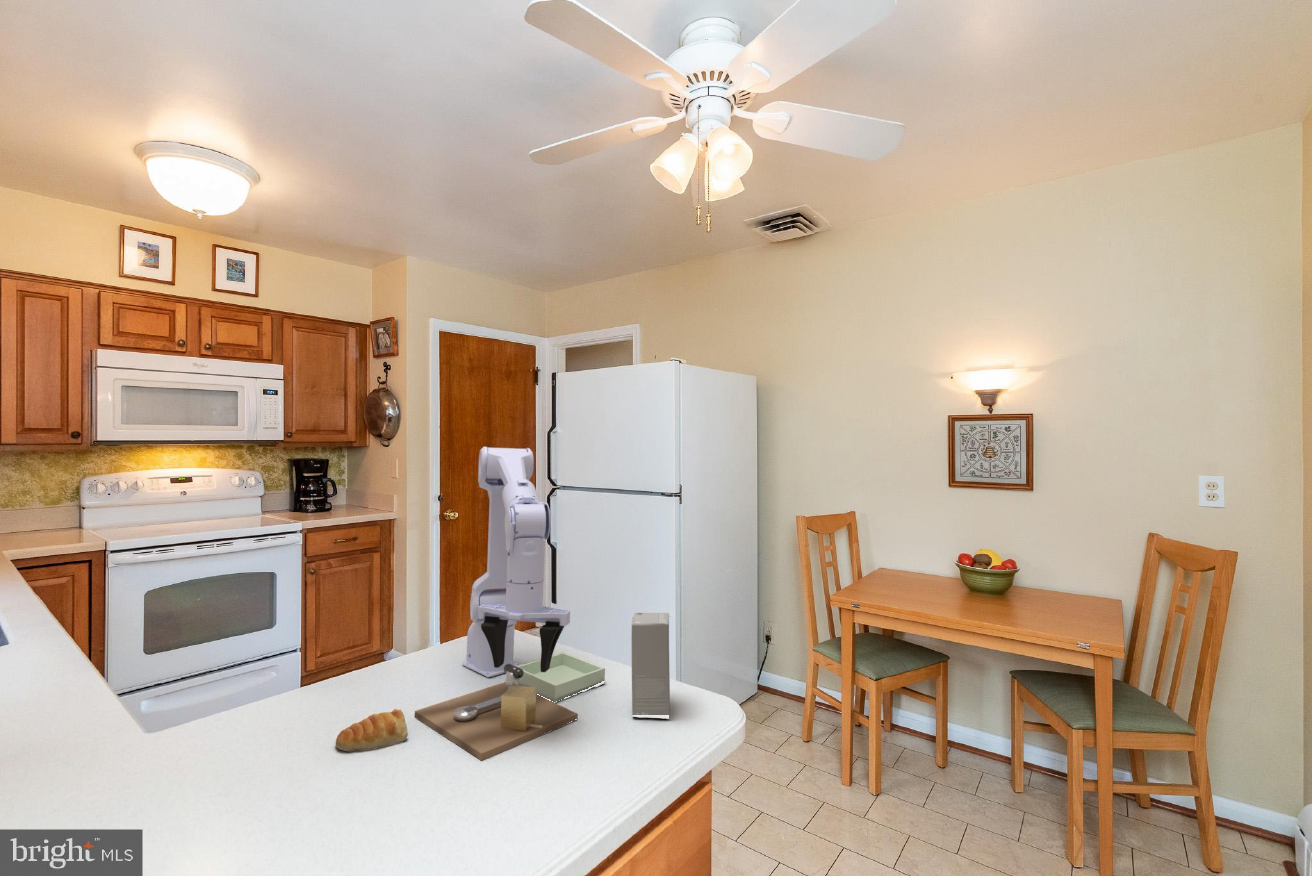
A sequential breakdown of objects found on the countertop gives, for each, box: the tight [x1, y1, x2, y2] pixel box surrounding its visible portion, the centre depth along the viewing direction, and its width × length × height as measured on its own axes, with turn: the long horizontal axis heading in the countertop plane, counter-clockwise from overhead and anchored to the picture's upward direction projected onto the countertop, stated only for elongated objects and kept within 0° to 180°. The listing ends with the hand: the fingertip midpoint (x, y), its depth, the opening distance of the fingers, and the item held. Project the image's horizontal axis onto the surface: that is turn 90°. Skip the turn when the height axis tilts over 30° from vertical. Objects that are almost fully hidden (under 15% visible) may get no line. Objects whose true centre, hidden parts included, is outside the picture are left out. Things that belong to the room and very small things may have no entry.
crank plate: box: [414, 681, 578, 761], centre depth 97 cm, size 19×18×1 cm
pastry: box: [335, 708, 409, 753], centre depth 89 cm, size 9×7×4 cm
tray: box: [517, 652, 606, 702], centre depth 112 cm, size 12×12×3 cm
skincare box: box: [631, 612, 671, 716], centre depth 103 cm, size 8×7×16 cm
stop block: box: [501, 686, 536, 731], centre depth 94 cm, size 4×4×5 cm
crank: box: [453, 664, 524, 721], centre depth 98 cm, size 12×5×6 cm, turn 139°
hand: (521, 667), depth 94 cm, fingers open, 7 cm apart
